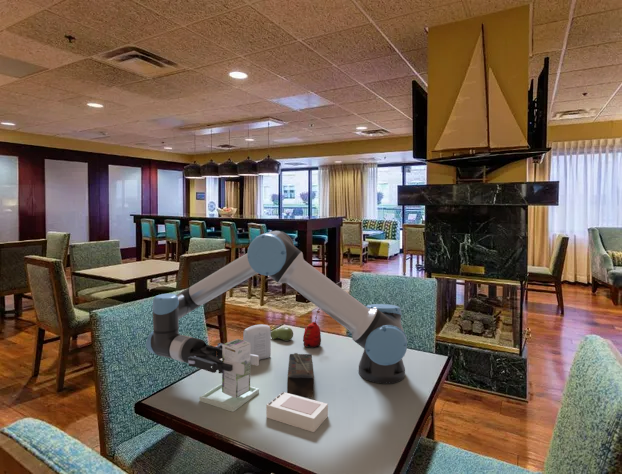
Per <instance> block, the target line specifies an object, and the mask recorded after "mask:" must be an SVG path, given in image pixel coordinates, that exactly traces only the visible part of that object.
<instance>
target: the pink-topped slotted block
mask: <svg viewBox="0 0 622 474" xmlns="http://www.w3.org/2000/svg"><path fill="white" fill-rule="evenodd" d="M265 410H266V419H270V420H273V421H276V422H280V423H283V424H286V425H289V426H293V427H295V428H298V429H301V430H305V431H308V432H312V433H315V432H316V431H317V430H318V428H319V427H320V426H321V425H322V424H323V423H324V422H325V420H326V419H327V418H328V415H329V403H326V402H323V401H319V400H314V399H310V398H309V397H300V396H297V395H293V394H289V393H287V391H286V392H285V391H282V392H280V393H279V394H277V396H275V397H274V398H273V399H271V400H270V401H269V402H268V403H267V404H266V409H265Z"/></svg>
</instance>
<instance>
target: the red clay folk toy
mask: <svg viewBox="0 0 622 474" xmlns="http://www.w3.org/2000/svg"><path fill="white" fill-rule="evenodd" d="M315 312H316V314H315V315H316V316H315V317H314V318H315V321H313V322H311V323H309V324H307V325H306V327H304V333H303V339H302V341H303V345H304V347H305V348H316V347H319V346H321V344H322V338H321V337H322V335H321V334H322V332H321V329H320V326H319V325H318V323H317V319H318V317H317V316H318V314H320V313H321V311H320V308H318V309H317V310H315Z"/></svg>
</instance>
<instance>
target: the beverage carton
mask: <svg viewBox="0 0 622 474" xmlns="http://www.w3.org/2000/svg"><path fill="white" fill-rule="evenodd" d="M313 363H314V362H313V356H312V354H311V353H298V352H294V353H289V358H288V370H287V380H286V381H287V383H286V393H289V394H293V395H297V396H300V397H304V398H309V399H310V398H313V397H314V389H315V388H314V387H315V373H314V364H313Z"/></svg>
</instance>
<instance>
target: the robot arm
mask: <svg viewBox="0 0 622 474" xmlns="http://www.w3.org/2000/svg"><path fill="white" fill-rule="evenodd" d="M256 274H259V275H261V276H265V277H266V276H267V277H269V278H271V280H274V281H275V282H276V283H277V284H287V285H288V286H290V287H291V288H293V289H294V290H295V291H296V292H298V293H299V294H300V295H302V296H303V297H304V298H305V299H307V300H308V301H309V302H311V303H312V304H313V305H314V306H316V307H317V308H318V309H319V310H321V311H323V312H324V313H325V314H327V315H328V316H329V317H331V318H332V319H333V320H334V321H336V322H337V323H338V324H339V325H341V326H343V327H344V328H345V329H346V330H348V331H349V332H350V334H351V338H352V340H353V342H355V343H356V344H357V345H358V346H360V347H361V348H363V352H362V354H361V356H360V357H361V358H360V360H359V364H358V374H359V376H360V377H361V378H363V379H364V380H366V381H369V382H372V383H377V384H385V385H386V384H389V385H390V384H394V383H398V382H401V381H403V380H404V379H405V377H406V367H405V364H404V361H403V358H404V357H405V355H406V353H407V350H408V338H407V335H406V333H405V331H404V328H403V325H402V316H403V315H402V309H401V307H400V306H398V305H394V304H385V303H372V304H367V305H364V304H363V303H362V302H360V301H359V300H358V299H356V298H355V297H354V296H352V295H351V294H349V292H347V291H346V290H344V289H343V288H341V286H339V285H338V284H336V283H335V282H334V281H332V280H331V279H330V278H328V277H327V276H326V275H325V274H324V273H322V272H320V271H319V269H317V268H315V267H314V266H312V265H311V264H310V263H308V262H307V261H306V260H305V259H304V254H303V252H302V251H301V250H300V249H298V248H297V247H296V246H295V245H294V241H293V239H292V238H291V236H290V235H288V234H287V233H286V232H284V231H280V230H272V231H269V232H265V233H261V234H259V235H258V236H257V235H256V237H255V238H253V240H252V241H251V242H250V244H249V245H248V248H247V253H245V254H244V255H241V256H240V257H238V258H236V259H234V260H233V261H231V262H229V263H227V264H226V265H224V266H223V267H221V268H220V269H218V270H216V271H214V272H213V273H211V274H210V275H208V276H206V277H205V278H203V279H201V280H200V281H198V282H196V283H194V284H193V285H191V286H190V287H188V288H186V289H184V290H182V291H181V292H179V293H177V294H176V293H161V294H158V295H155V296H154V297H153V299H152V308H151V309H152V326H153V328H152V329H153V330H152V331H151V332H150V333H149V334H148V335H147V339H146V341H145V347H146V349H147V351H148V352H149V353H151V354H154V355H156V356H158V357H164V358H167V359H171V360H176V361H179V362H181V363H185V364H188V367H194V368H197V369H201V370H203V371H207V372H210V373H215V374H216V373H217V371H218V374H222V373H223V370H225V371H229V372H232V373H236V374H240V375H244V364H240V363H236V362H232V361H228V360H224V363H223V361H222V345H223V344H224V343H222V342H217V345H216V346H214V345H208V344H207V343H206V342H205V340H203V339H201V338H196V337H192V336H188V335H183V334H181V333H179V329H180V325H179V324H180V323H179V322H180V321H179V320H180V319H181V318H183V317H185V316H187V315H188V314H189V313H192V312H193V311H195V310H196V309H198V308H199V307H201V306H203V305H205V304H206V303H208V302H209V301H211V300H213V299H216V298H217V297H218V296H221V295H222V294H224V293H225V292H227V291H229V290H231V289H233V288H234V287H236V286H238V285H240V284H241V283H243V282H244V281H246V280H248V279H250V278H251V277H253V276H255V275H256ZM250 365H253V366H256V367H257V366H260V360H259V356H258V355H254V354H250Z"/></svg>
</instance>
